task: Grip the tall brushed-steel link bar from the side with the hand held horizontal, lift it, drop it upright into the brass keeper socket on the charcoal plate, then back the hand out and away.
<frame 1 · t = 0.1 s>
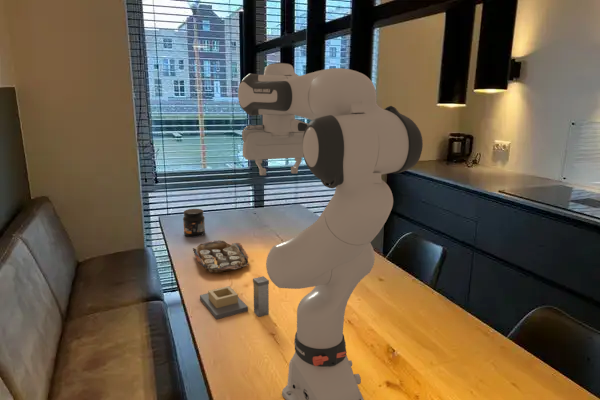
hand: (278, 174, 123), 48 cm above the table, fingers open, 8 cm apart
supplement container: (194, 234, 220), on the table
baking tray: (221, 263, 184), on the table
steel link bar: (261, 313, 143), on the table
keeper plate: (223, 304, 148), on the table
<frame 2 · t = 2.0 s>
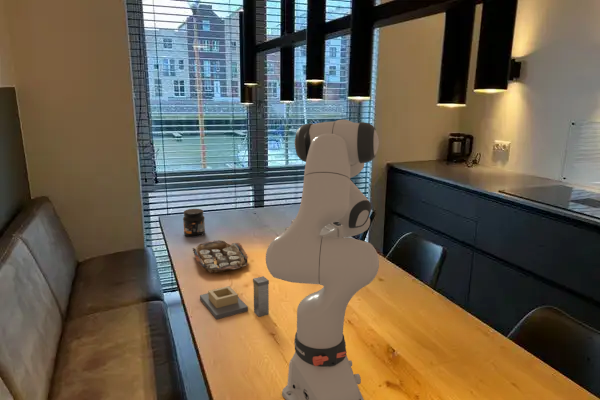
hand: (293, 234, 143), 25 cm above the table, fingers open, 8 cm apart
nothing on the table moved.
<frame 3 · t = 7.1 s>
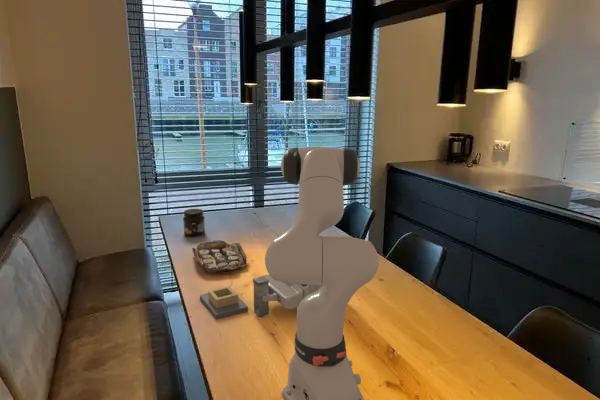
hand: (258, 295, 140), 7 cm above the table, fingers closed on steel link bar, 4 cm apart
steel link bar: (261, 313, 143), on the table, touching gripper
everything else where it was.
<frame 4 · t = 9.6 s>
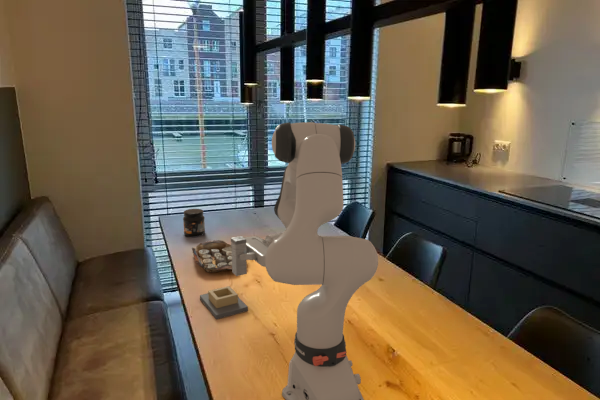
hand: (236, 254, 141), 19 cm above the table, fingers closed on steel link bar, 4 cm apart
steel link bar: (239, 273, 143), point 13 cm above the table, touching gripper
everything else where it was.
when the fingers open (10 cm above the table, at t = 12.2 s): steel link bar drops 1 cm, resting on keeper plate.
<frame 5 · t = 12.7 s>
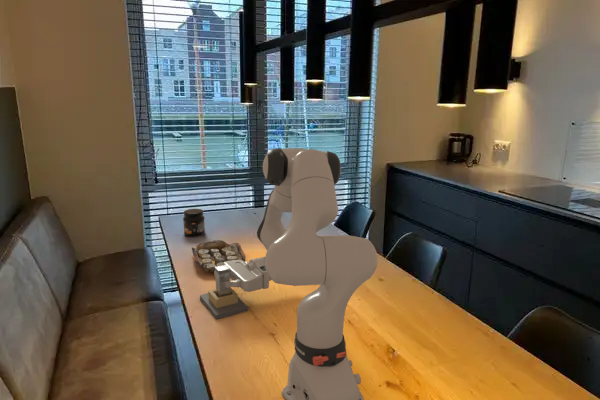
hand: (219, 279, 145), 10 cm above the table, fingers open, 8 cm apart
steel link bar: (223, 300, 147), point 1 cm above the table, touching keeper plate
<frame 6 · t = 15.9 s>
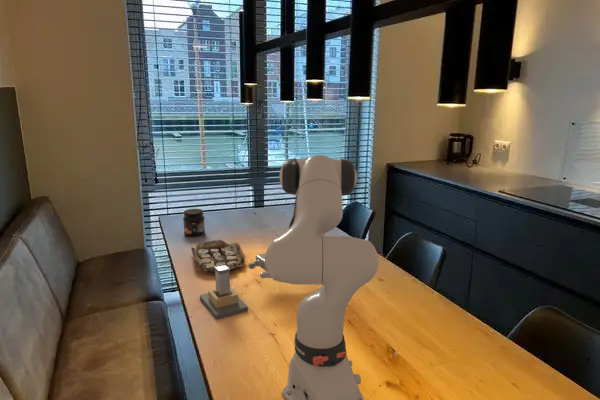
hand: (255, 270, 152), 10 cm above the table, fingers open, 8 cm apart
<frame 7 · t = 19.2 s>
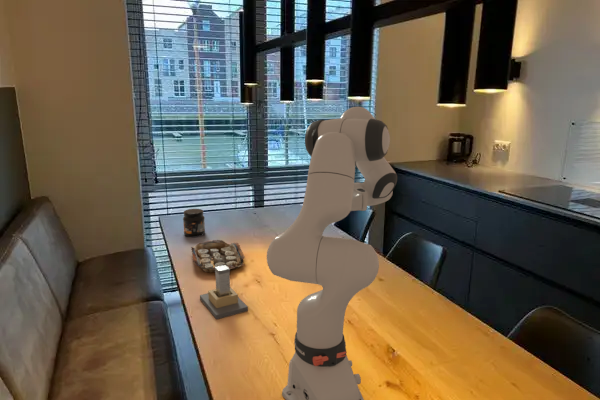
hand: (317, 200, 143), 36 cm above the table, fingers open, 8 cm apart
at the end: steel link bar 0.1 cm off-centre on the keeper plate, point 1.5 cm above the keeper plate's base; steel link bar tilted 0°; the gripper is holding nothing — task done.
